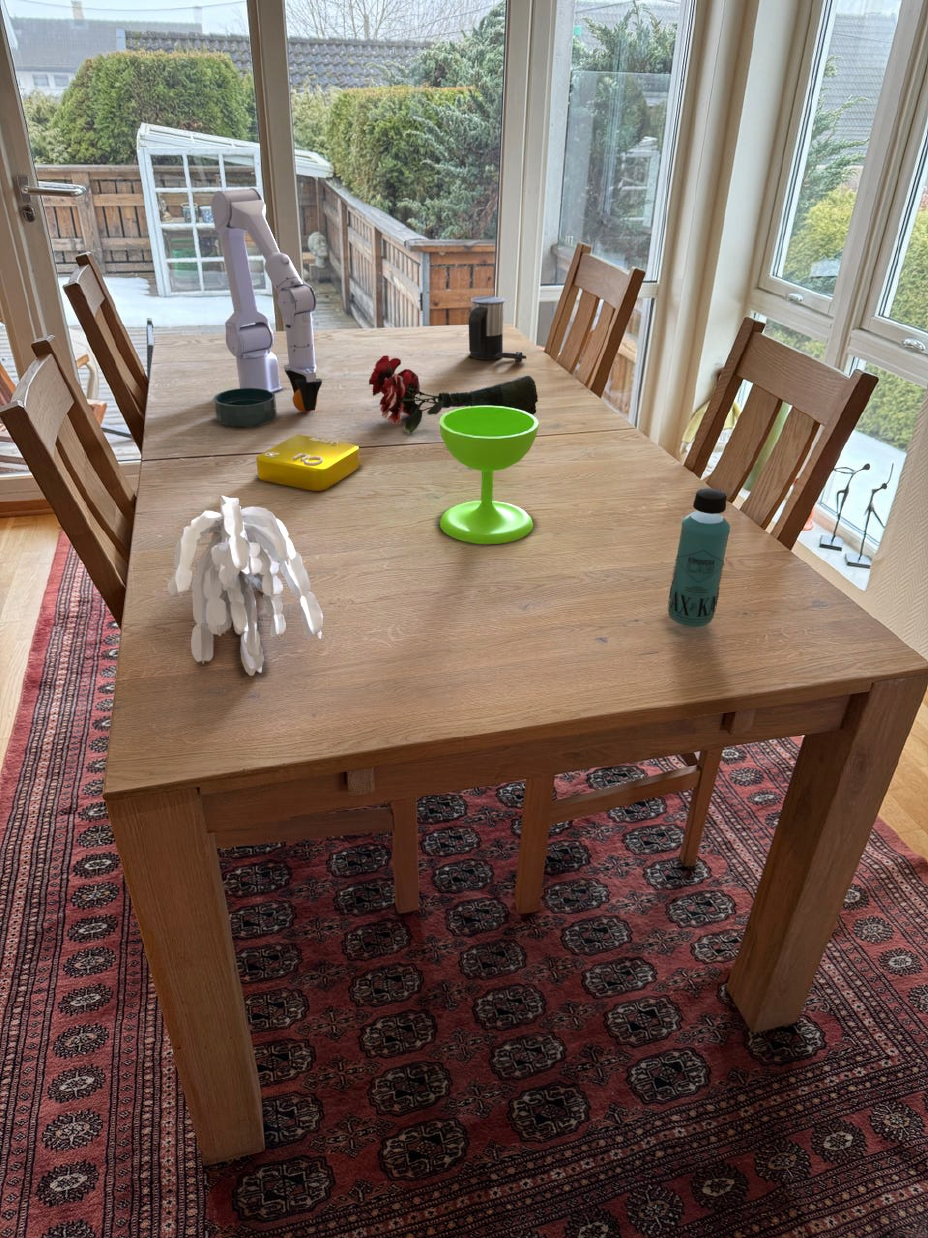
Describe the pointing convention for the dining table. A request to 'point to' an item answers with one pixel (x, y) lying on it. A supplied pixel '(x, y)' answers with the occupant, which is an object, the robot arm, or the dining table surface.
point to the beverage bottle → (699, 560)
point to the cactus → (241, 579)
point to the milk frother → (488, 329)
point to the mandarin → (299, 401)
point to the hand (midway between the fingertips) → (305, 405)
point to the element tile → (308, 462)
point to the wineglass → (487, 470)
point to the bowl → (245, 407)
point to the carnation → (442, 394)
